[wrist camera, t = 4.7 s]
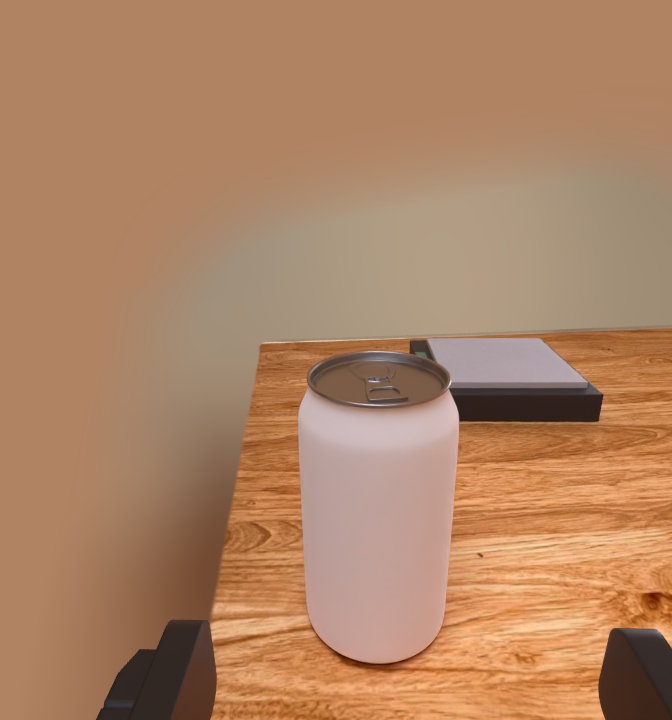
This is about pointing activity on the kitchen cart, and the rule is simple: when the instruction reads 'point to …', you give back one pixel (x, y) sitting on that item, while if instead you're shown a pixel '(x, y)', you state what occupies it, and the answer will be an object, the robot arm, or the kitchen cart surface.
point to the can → (377, 501)
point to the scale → (511, 380)
